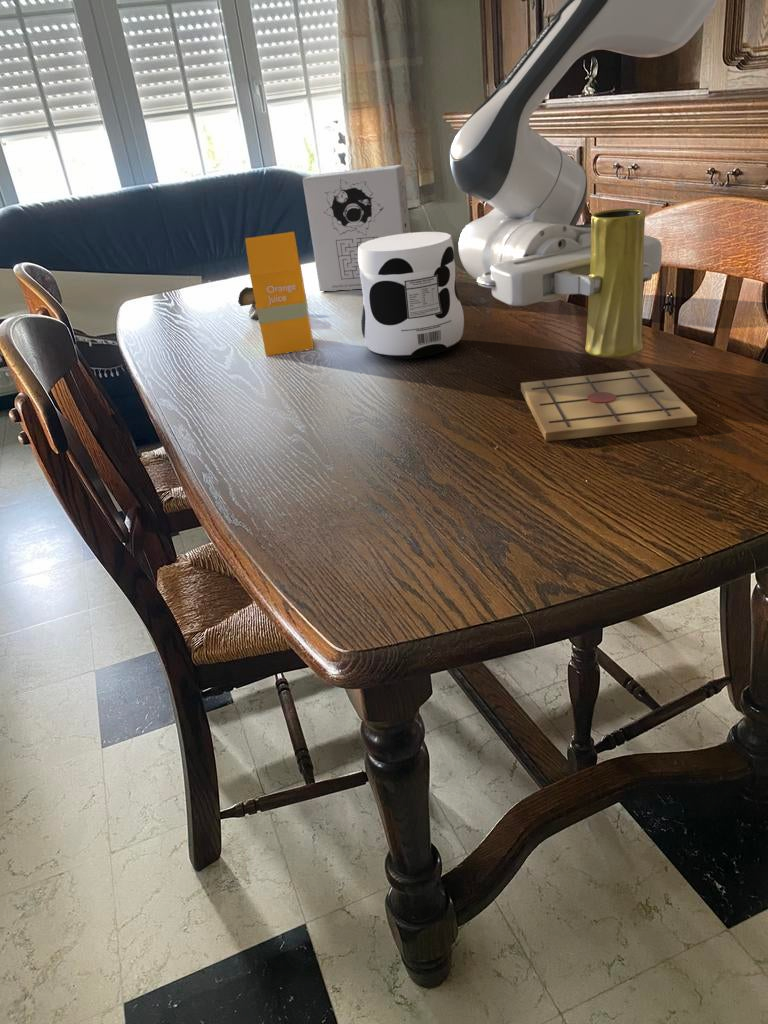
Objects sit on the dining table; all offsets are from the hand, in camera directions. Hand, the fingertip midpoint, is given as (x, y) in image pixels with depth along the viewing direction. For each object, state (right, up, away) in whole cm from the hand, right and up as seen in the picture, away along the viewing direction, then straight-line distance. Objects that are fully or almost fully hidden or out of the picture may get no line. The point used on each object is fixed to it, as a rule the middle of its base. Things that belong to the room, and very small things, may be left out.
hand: (622, 280), depth 78 cm
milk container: (-20, +3, +50) cm, 54 cm away
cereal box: (-29, +29, +99) cm, 107 cm away
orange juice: (-43, +6, +61) cm, 75 cm away
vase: (0, -7, +5) cm, 8 cm away
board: (+3, -11, +19) cm, 22 cm away
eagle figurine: (-53, +19, +86) cm, 103 cm away
